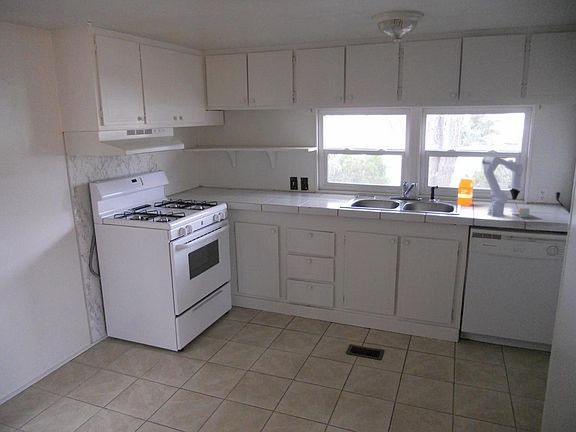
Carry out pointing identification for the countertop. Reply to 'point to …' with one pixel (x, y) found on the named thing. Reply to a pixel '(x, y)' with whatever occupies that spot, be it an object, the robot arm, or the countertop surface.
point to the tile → (524, 212)
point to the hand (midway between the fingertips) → (514, 199)
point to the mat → (527, 217)
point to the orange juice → (465, 192)
